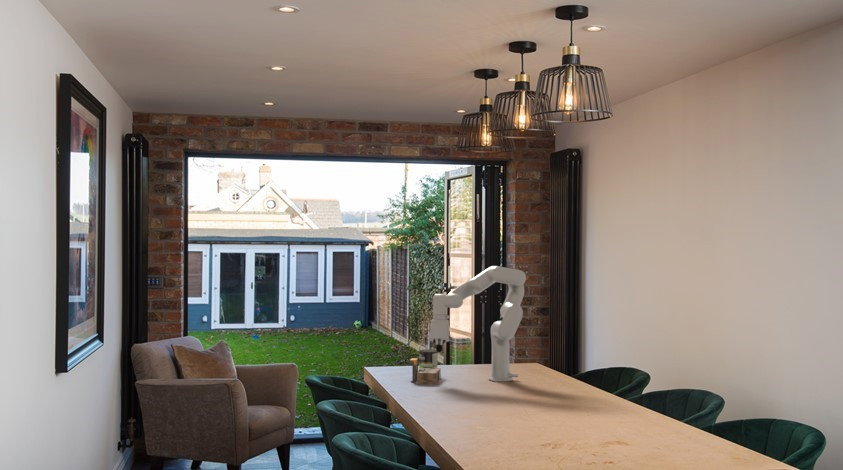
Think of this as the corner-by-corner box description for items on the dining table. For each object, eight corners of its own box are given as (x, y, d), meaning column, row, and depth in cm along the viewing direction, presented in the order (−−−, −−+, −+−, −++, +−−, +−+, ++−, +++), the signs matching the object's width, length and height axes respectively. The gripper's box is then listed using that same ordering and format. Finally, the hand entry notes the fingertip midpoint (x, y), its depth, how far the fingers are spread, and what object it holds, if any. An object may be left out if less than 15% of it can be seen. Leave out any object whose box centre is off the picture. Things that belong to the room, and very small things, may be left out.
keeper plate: (417, 369, 421) (417, 358, 421) (416, 371, 416) (416, 359, 416) (411, 369, 421) (411, 358, 422) (410, 371, 417) (410, 359, 417)
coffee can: (423, 378, 430) (423, 352, 430) (415, 375, 439) (416, 349, 439) (440, 376, 434) (440, 351, 434) (432, 374, 444) (432, 349, 444)
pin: (440, 379, 419) (440, 372, 419) (439, 380, 415) (439, 373, 415) (418, 379, 420) (418, 371, 420) (417, 380, 416) (417, 372, 416)
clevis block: (440, 379, 426) (440, 362, 426) (436, 384, 408) (436, 367, 408) (414, 378, 428) (415, 361, 428) (409, 384, 410) (409, 366, 410)
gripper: (454, 317, 420) (454, 352, 419) (426, 316, 422) (426, 351, 421) (453, 318, 412) (452, 353, 412) (425, 317, 415) (424, 352, 414)
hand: (439, 352), depth 417 cm, fingers closed
